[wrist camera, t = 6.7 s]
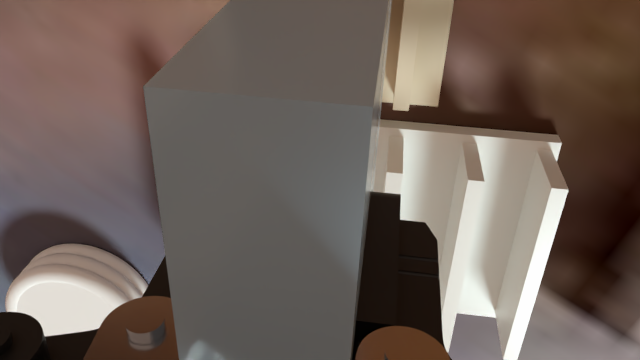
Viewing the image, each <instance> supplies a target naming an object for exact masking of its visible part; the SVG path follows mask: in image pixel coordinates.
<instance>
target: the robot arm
mask: <svg viewBox="0 0 640 360" xmlns="http://www.w3.org/2000/svg"><path fill="white" fill-rule="evenodd" d="M400 204H401V194H392V193H383V192H373V191H371V197H370V205H369V214H368V222H367V231H366V239H365V248H364V257H363V265H362V274H361V282H360V291H359V299H358V308H357V317H356V326H355V337H354V348H353V358H352V360H452V359H451V358H450V356H449V355H448V353H447V351H446V349H445V346H444V342H443V332H442V315H441V297H440V279H439V263H438V243H437V239H436V237H435V236H434V234H433V233H432V231H431V230H430V228H429V227H428V225H427V224H426V223H425V222H417V221H407V220H400ZM0 360H179V355H178V347H177V340H176V332H175V325H174V317H173V309H172V302H171V294H170V287H169V279H168V271H167V264H166V256H165V257H164V259H163V261H162V263H161V264H160V266H159V268H158V270H157V271H156V273H155V275H154V277H153V278H152V280H151V282H150V284H149V285H148V287H147V289H146V291H145V292H144V294H143V296H142V297H141V298H136V299H134V300H131V301H128V302H126V303H124V304H122V305H120V306H119V307H117V308H115V309H114V310H113V311H112V312H111V313H109V314H108V316H107V317H106V318H105V319H104V321H103V322H102V324H101V325H100V327H99V328H98V329H95V330H90V331H84V332H76V333H69V334H61V335H53V336H44V333H43V329H42V327H41V325H40V323H39V322H38V321H37V320H36V319H35V318H33V317H32V316H30V315H27V314H25V313H19V312H1V313H0Z"/></svg>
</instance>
